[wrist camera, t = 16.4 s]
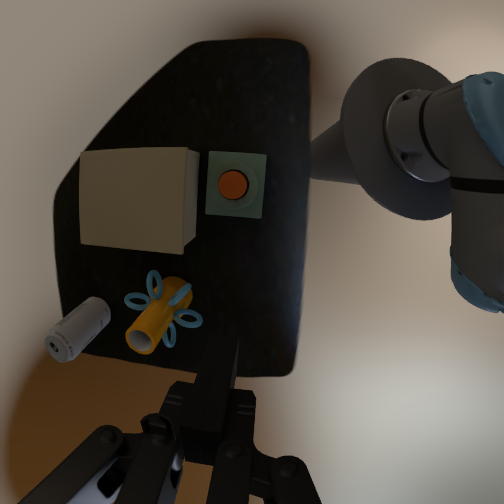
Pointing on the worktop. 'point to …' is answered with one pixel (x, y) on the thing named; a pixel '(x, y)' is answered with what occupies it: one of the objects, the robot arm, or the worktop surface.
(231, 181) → the button
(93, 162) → the beige board
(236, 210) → the control block
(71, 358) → the energy drink can
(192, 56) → the worktop surface
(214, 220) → the worktop surface
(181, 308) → the cylinder
